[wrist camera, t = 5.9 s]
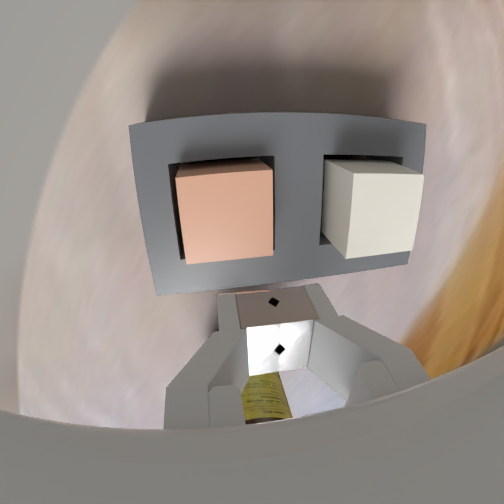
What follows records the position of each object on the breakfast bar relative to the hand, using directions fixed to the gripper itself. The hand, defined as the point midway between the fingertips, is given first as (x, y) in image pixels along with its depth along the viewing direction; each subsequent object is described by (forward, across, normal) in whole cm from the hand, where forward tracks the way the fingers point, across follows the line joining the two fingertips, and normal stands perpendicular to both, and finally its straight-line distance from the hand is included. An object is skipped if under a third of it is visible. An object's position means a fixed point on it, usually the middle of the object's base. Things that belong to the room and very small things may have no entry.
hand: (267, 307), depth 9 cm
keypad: (+15, -4, 0) cm, 15 cm away
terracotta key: (+12, +1, 0) cm, 12 cm away
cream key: (+11, -8, 0) cm, 14 cm away
